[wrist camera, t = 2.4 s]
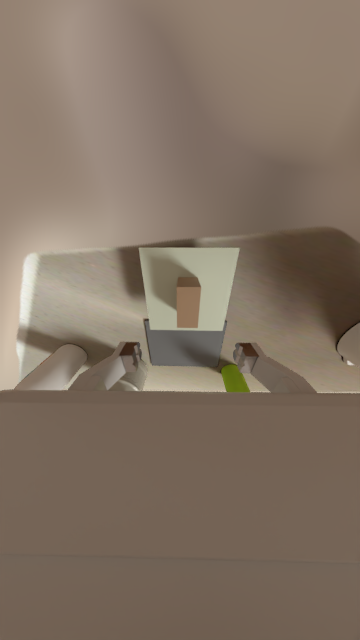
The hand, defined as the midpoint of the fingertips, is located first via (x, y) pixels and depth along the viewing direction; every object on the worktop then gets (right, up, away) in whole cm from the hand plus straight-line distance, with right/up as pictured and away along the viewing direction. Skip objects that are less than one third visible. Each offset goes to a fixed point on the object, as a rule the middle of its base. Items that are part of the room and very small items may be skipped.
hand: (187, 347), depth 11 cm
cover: (+1, +7, +11) cm, 13 cm away
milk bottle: (-32, -7, +28) cm, 44 cm away
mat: (+1, -5, +25) cm, 26 cm away
